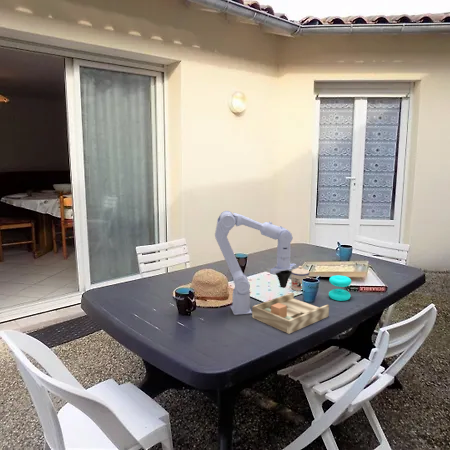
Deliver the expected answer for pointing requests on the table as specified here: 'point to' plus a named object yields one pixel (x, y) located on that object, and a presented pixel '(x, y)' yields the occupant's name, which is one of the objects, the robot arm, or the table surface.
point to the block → (279, 309)
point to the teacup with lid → (298, 277)
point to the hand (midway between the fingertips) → (283, 287)
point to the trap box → (289, 313)
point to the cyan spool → (339, 293)
